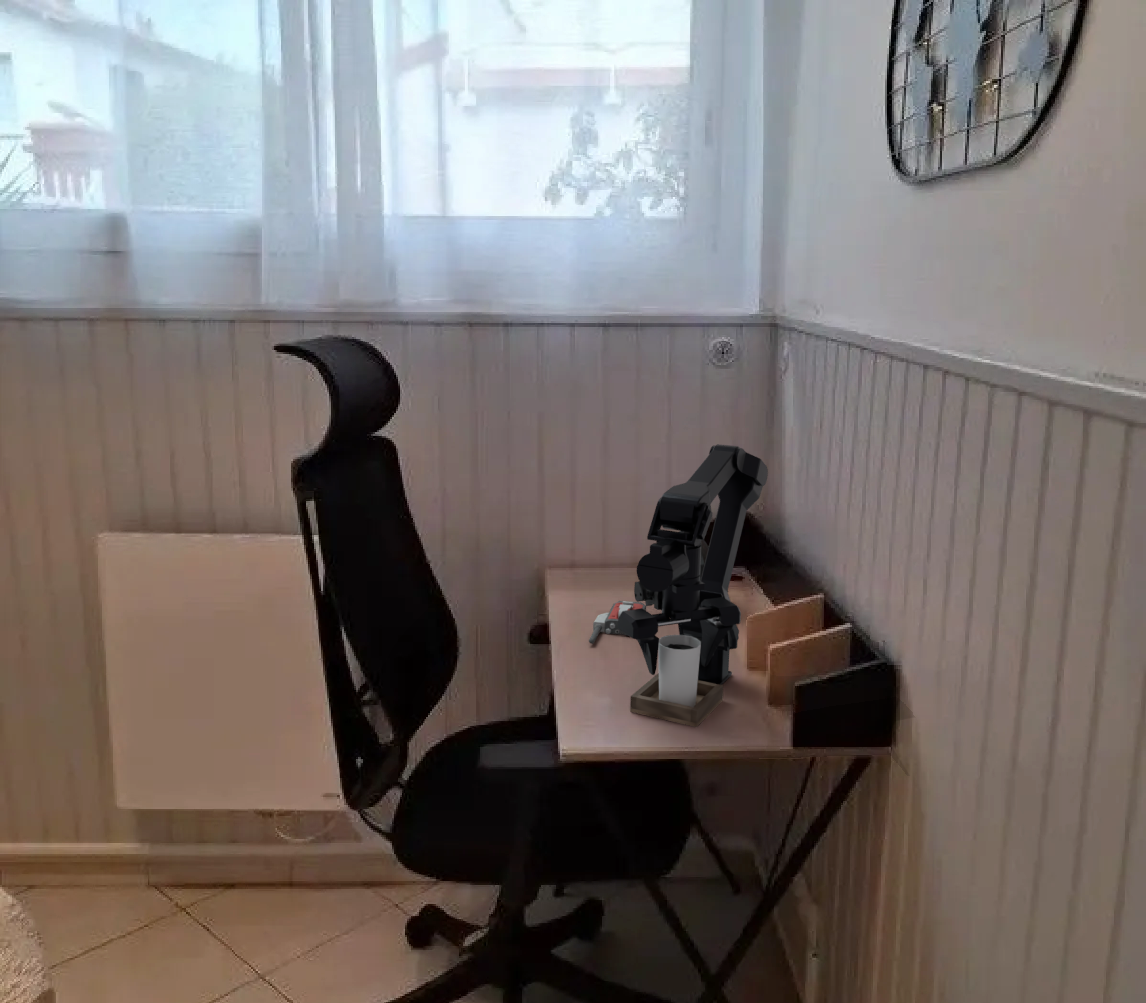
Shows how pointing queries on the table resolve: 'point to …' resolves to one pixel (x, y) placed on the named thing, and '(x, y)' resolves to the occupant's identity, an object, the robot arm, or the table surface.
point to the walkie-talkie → (613, 619)
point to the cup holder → (650, 704)
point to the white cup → (678, 669)
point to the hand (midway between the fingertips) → (678, 669)
